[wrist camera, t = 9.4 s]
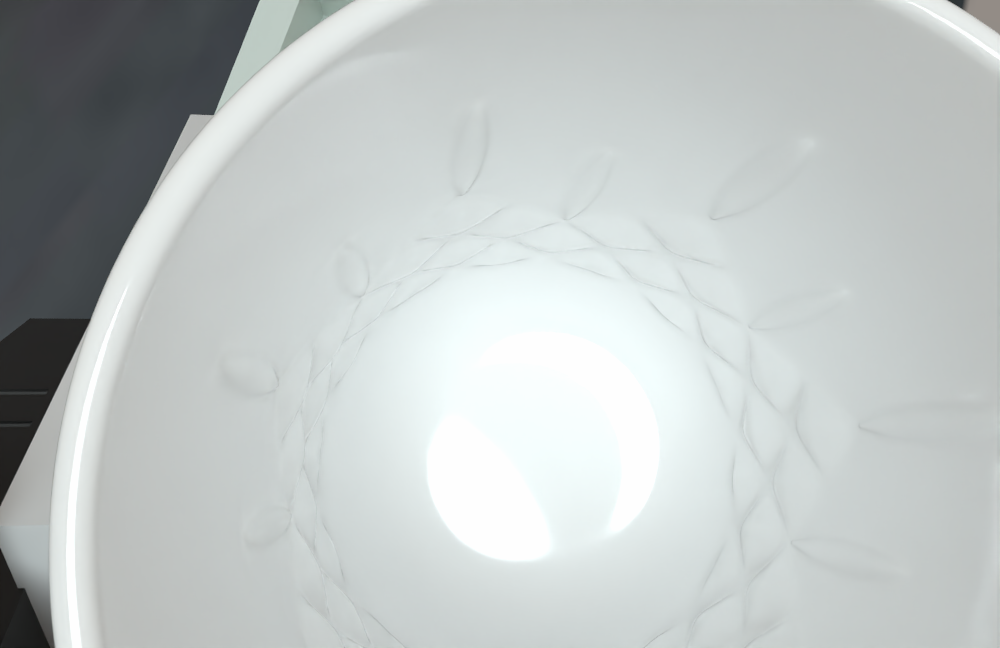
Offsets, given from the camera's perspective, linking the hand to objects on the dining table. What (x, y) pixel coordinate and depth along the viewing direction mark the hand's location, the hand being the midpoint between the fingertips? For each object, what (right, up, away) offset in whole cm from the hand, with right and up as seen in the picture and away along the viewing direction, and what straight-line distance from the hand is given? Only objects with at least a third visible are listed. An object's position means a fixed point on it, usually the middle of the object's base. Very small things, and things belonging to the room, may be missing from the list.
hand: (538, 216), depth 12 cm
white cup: (0, -4, +3) cm, 5 cm away
